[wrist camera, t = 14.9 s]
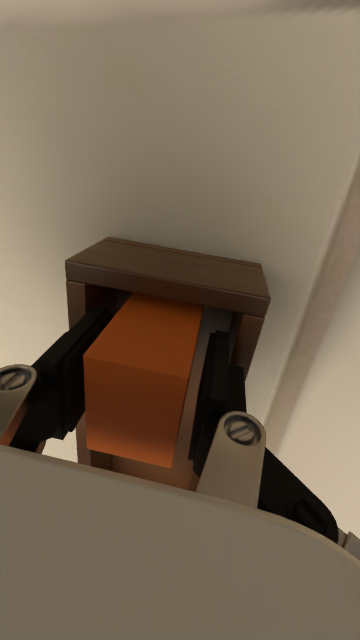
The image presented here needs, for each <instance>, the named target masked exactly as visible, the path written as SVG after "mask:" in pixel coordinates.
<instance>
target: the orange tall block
mask: <svg viewBox="0 0 360 640" xmlns="http://www.w3.org/2000/svg"><path fill="white" fill-rule="evenodd" d="M203 310H204V306H203V305H197V304H192V303H187V302H182V301H176V300H171V299H166V298H161V297H155V296H150V295H145V294H140V293H134V292H133V294H132V295H131V296H130V297H129V299H128V300H127V301H126V302H125V304H124V305H123V306H122V307H121V309H120V310H119V311H118V312H117V314H116V315H115V316H114V317H113V319H112V320H111V321H110V322H109V324H108V325H107V326H106V327H105V329H104V330H103V331H102V332H101V334H100V335H99V336H98V337H97V339H96V340H95V341H94V342H93V344H92V345H91V346H90V347H89V349H88V350H87V351H86V352H85V354H84V355H83V363H84V389H85V416H86V442H87V448H88V449H91V450H96V451H100V452H104V453H108V454H112V455H116V456H121V457H125V458H129V459H133V460H137V461H142V462H146V463H150V464H154V465H158V466H163V467H167V468H171V467H172V464H173V459H174V454H175V449H176V444H177V439H178V434H179V429H180V424H181V420H182V415H183V410H184V405H185V400H186V395H187V390H188V385H189V380H190V375H191V370H192V366H193V361H194V356H195V351H196V346H197V340H198V335H199V330H200V325H201V320H202V315H203Z"/></svg>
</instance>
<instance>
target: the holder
mask: <svg viewBox="0 0 360 640" xmlns="http://www.w3.org/2000/svg"><path fill="white" fill-rule="evenodd" d="M65 268H66V279H67V281H66V287H67V303H68V318H69V330H70V329H71V328H72V327H73V326H74V325H75V324H76V323H77V322H78V321H79V320H80V319H81V318H82V317H83V316H84V315H85V314H86V313H87V312H88V311H89V310H90V309H91V308H92V307H94V306H97V307H103V308H107V309H108V310H109V312H111V313H112V319H113V317H114V316H115V315H116V314H117V312H118V311H119V310H120V309H121V307H122V306H123V305H124V304H125V302H126V301H127V300H128V299H129V297H130V296H131V295H132V294H133V292H134V293H140V294H145V295H150V296H155V297H161V298H166V299H171V300H176V301H182V302H187V303H192V304H197V305H203V306H204V310H203V315H202V320H201V325H200V330H199V335H198V340H197V346H196V351H195V356H194V361H193V366H192V370H191V375H190V380H189V385H188V390H187V395H186V400H185V405H184V410H183V415H182V420H181V424H180V429H179V434H178V439H177V444H176V449H175V454H174V459H173V464H172V467H171V468H167V467H163V466H158V465H154V464H150V463H146V462H142V461H137V460H133V459H129V458H125V457H121V456H116V455H112V454H108V453H104V452H100V451H96V450H91V449H88V448H87V442H86V416H85V412H84V414H83V416H82V417H81V419H80V421H79V422H78V424H77V426H76V440H77V456H78V463H80V464H84V465H88V466H92V467H96V468H100V469H104V470H108V471H113V472H117V473H121V474H125V475H129V476H133V477H137V478H141V479H145V480H149V481H153V482H157V483H161V484H165V485H169V486H173V487H177V488H181V489H185V490H189V491H193V492H196V489H197V486H198V483H199V480H200V479H199V477H198V476H197V475H196V473H195V472H194V471H192V468H193V461H192V460H188V454H189V448H190V441H191V435H192V428H193V421H194V415H195V408H196V402H197V395H198V389H199V383H200V379H201V374H202V369H203V365H204V360H205V355H206V351H207V346H208V341H209V337H210V333H211V332H212V333H216V330H220V331H225V332H229V333H230V338H229V364H230V365H235V366H240V367H243V368H244V379H245V380H246V377H247V374H248V371H249V367H250V364H251V361H252V358H253V355H254V352H255V348H256V345H257V342H258V339H259V336H260V332H261V329H262V326H263V323H264V320H265V318H264V317H265V316H266V313H267V310H268V306H269V303H270V300H271V298H270V295H269V291H268V288H267V284H266V281H265V277H264V274H263V271H262V267H261V265H260V264H257V263H251V262H245V261H239V260H234V259H228V258H222V257H217V256H211V255H205V254H200V253H194V252H188V251H183V250H177V249H171V248H166V247H160V246H154V245H149V244H143V243H137V242H132V241H126V240H120V239H114V238H109V237H107V238H105V239H103V240H101V241H100V242H98V243H96V244H94V245H92V246H90V247H89V248H87V249H85V250H83V251H81V252H80V253H78V254H76V255H74V256H72V257H70V258H69V259H67V260H66V261H65Z"/></svg>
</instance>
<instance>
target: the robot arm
mask: <svg viewBox="0 0 360 640" xmlns="http://www.w3.org/2000/svg"><path fill="white" fill-rule="evenodd" d="M111 320H112V313H111V312H109V310H108V309H107V308H103V307H97V306H94V307H92V308H91V309H90V310H89V311H88V312H87V313H86V314H85V315H84V316H83V317H82V318H81V319H80V320H79V321H78V322H77V323H76V324H75V325H74V326H73V327H72V328H71V329H70V330H69V331H68V332H66V333H64V334H63V335H62V336H61V337H60V338H59V339H58V340H57V341H56V342H55V343H54V344H53V345H52V346H51V347H50V348H49V349H48V350H47V351H46V352H45V353H44V354H43V355H42V356H41V357H40V358H39V359H38V360H37V361H36V362H35V363H34V364H33V365H32V366H29V365H24V364H14V365H9V366H5V367H3V368H0V640H360V539H359V538H357V537H356V536H355V535H354V534H353V533H351V532H349V533H348V534H346V533H344V532H343V531H342V530H340V529H339V528H338V527H337V523H336V520H335V519H334V517H333V515H332V513H331V512H330V510H329V509H328V508H327V507H326V506H325V504H324V503H323V502H322V501H321V500H320V499H319V498H318V497H317V496H315V495H314V494H313V493H312V492H311V491H310V490H309V489H308V488H307V487H306V486H305V485H304V484H303V483H302V482H301V481H300V480H299V479H298V478H297V477H296V476H295V475H294V474H293V473H292V472H291V471H290V470H289V469H288V468H287V467H286V466H284V465H283V463H282V462H280V461H279V460H278V459H277V458H276V457H275V456H274V455H273V454H272V453H271V452H270V451H269V450H268V449H267V448H266V447H265V444H266V432H265V429H264V427H263V425H262V424H261V423H260V422H259V421H258V420H257V419H256V418H255V417H253V416H251V415H249V414H247V413H246V396H245V379H244V368H243V367H240V366H235V365H230V364H229V338H230V333H229V332H225V331H220V330H216V333H212V332H211V333H210V337H209V341H208V346H207V351H206V355H205V360H204V365H203V369H202V374H201V379H200V383H199V389H198V395H197V402H196V408H195V415H194V421H193V428H192V435H191V441H190V448H189V454H188V460H192V461H193V468H192V471H194V472H195V473H196V475H197V476H198V477H199V479H200V480H199V483H198V486H197V489H196V492H193V491H189V490H185V489H181V488H177V487H173V486H169V485H165V484H161V483H157V482H153V481H149V480H145V479H141V478H137V477H133V476H129V475H125V474H121V473H117V472H113V471H108V470H104V469H100V468H96V467H92V466H88V465H84V464H80V463H76V462H71V461H67V460H63V459H59V458H55V457H51V456H47V455H42V451H43V449H44V447H45V444H46V440H47V439H49V438H56V439H60V440H63V439H64V438H65V436H66V434H67V433H68V431H69V432H72V431H73V430H74V429H75V427H76V426H77V424H78V422H79V421H80V419H81V417H82V416H83V414H84V412H85V389H84V363H83V355H84V354H85V352H86V351H87V350H88V349H89V347H90V346H91V345H92V344H93V342H94V341H95V340H96V339H97V337H98V336H99V335H100V334H101V332H102V331H103V330H104V329H105V327H106V326H107V325H108V324H109V322H110V321H111Z"/></svg>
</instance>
